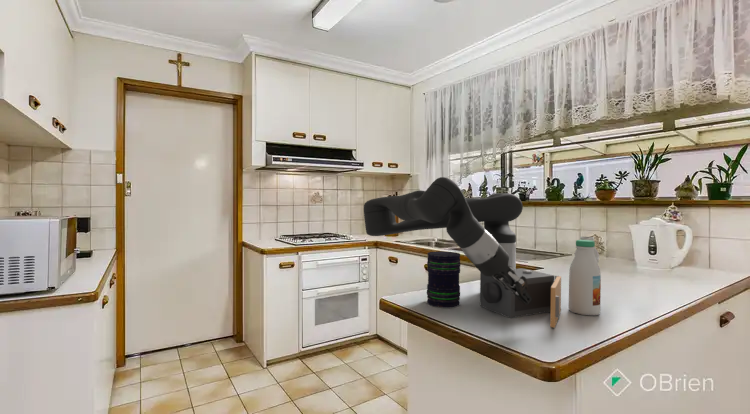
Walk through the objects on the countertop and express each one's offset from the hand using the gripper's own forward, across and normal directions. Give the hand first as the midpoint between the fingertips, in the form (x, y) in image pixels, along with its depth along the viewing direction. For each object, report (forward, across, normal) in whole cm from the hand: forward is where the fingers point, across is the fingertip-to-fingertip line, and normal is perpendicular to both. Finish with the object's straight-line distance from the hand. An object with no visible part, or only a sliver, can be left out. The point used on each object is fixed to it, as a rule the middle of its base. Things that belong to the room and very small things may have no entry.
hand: (528, 301), depth 91 cm
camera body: (+10, -16, 0) cm, 18 cm away
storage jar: (-2, -26, -12) cm, 29 cm away
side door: (+13, -5, +4) cm, 14 cm away
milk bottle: (+22, -9, +13) cm, 27 cm away
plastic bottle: (+28, -16, +18) cm, 37 cm away
